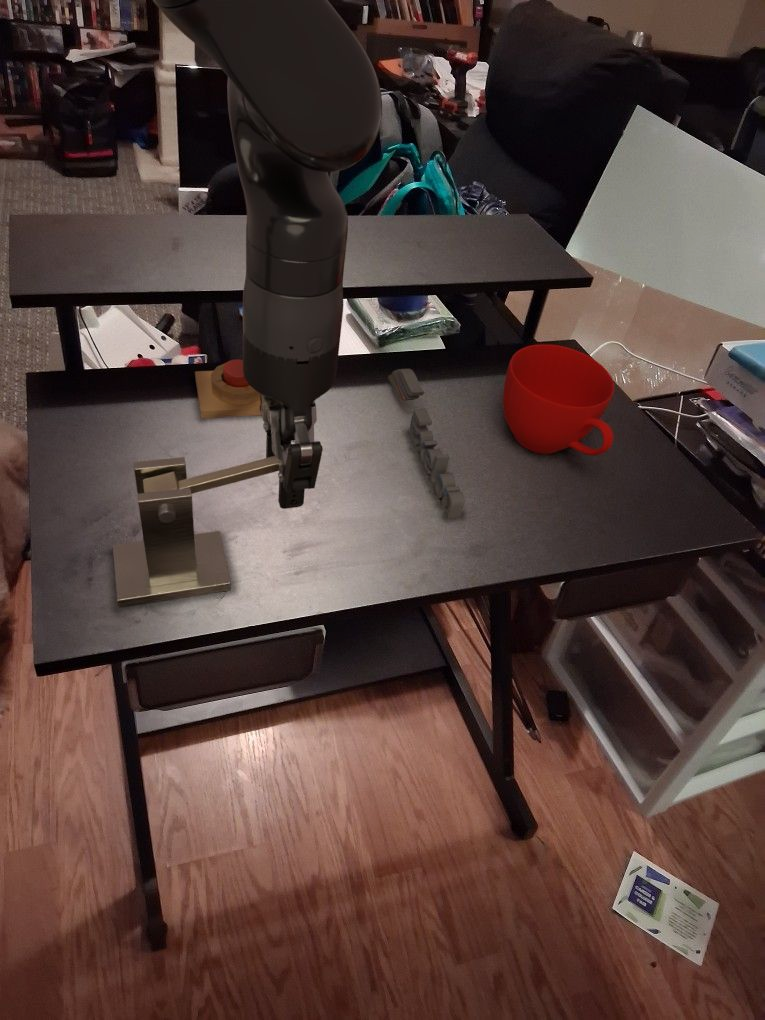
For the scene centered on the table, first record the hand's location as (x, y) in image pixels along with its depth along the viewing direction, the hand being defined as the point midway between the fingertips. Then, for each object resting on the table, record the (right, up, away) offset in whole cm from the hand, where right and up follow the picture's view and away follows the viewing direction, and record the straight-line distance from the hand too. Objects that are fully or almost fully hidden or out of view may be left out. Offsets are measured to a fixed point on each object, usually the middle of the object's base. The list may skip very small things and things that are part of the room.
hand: (284, 483), depth 68 cm
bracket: (-12, -9, +4) cm, 15 cm away
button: (-9, +14, +23) cm, 28 cm away
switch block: (-9, +12, +25) cm, 29 cm away
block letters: (+14, +5, +23) cm, 27 cm away
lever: (-5, 0, -2) cm, 6 cm away
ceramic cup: (+30, +6, +26) cm, 41 cm away
